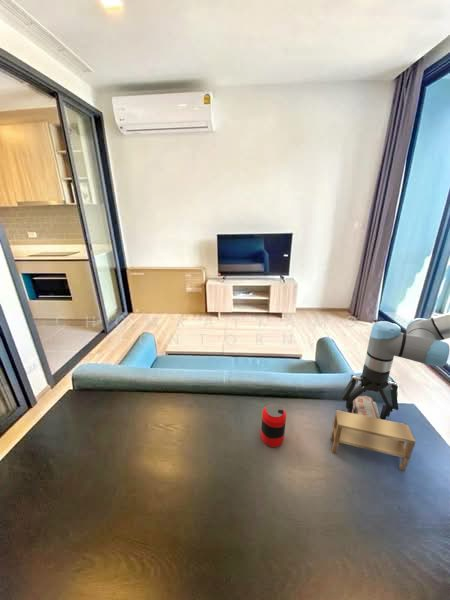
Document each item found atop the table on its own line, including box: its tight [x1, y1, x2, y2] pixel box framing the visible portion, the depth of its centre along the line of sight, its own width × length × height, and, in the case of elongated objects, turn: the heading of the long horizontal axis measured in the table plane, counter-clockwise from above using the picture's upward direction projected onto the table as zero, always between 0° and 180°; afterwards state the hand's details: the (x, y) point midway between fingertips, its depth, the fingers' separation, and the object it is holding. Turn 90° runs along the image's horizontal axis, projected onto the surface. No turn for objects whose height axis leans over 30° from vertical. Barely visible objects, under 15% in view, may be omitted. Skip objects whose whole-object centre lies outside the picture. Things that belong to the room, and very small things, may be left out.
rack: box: [330, 409, 416, 472], centre depth 77 cm, size 20×6×12 cm, turn 73°
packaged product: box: [352, 395, 381, 419], centre depth 89 cm, size 18×5×10 cm
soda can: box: [260, 403, 287, 448], centre depth 82 cm, size 8×8×12 cm
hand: (365, 418), depth 90 cm, fingers closed on packaged product, 10 cm apart
